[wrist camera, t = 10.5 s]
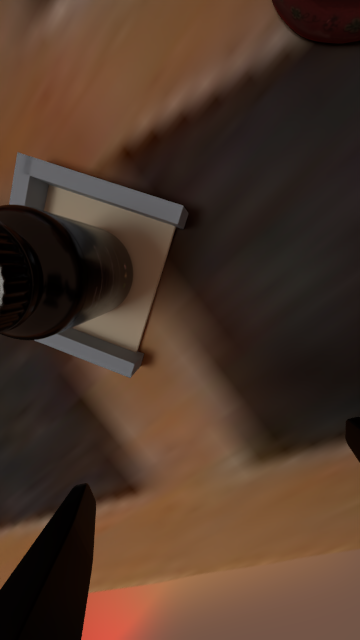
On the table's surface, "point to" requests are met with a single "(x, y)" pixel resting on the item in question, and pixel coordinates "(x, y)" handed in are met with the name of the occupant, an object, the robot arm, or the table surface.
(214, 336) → the table surface
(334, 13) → the brown clay jug
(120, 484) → the table surface
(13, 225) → the supplement bottle
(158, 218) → the keeper bracket
